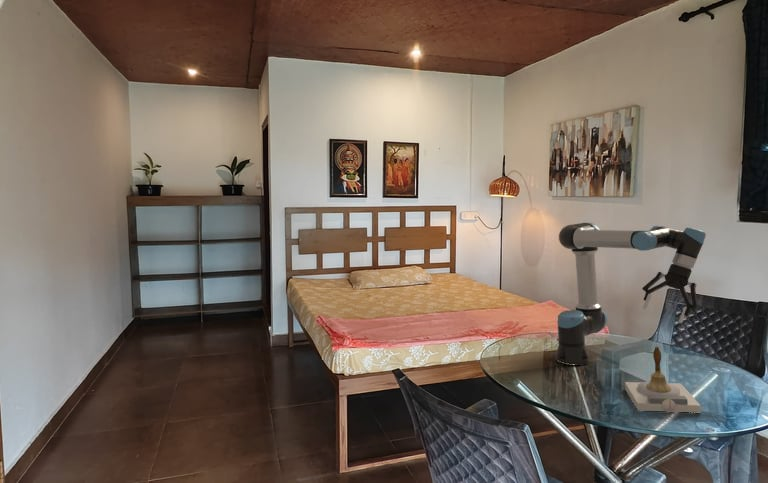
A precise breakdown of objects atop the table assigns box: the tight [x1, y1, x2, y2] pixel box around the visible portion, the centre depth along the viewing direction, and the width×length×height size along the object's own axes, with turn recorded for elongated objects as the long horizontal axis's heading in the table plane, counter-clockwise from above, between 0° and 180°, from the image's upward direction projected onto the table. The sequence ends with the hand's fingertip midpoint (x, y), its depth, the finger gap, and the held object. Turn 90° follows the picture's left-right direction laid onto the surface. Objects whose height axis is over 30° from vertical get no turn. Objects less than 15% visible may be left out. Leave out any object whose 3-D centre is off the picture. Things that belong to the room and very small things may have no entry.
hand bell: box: [646, 346, 671, 393], centre depth 181 cm, size 8×8×16 cm
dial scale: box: [624, 380, 702, 414], centre depth 180 cm, size 20×20×5 cm
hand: (661, 315), depth 193 cm, fingers open, 13 cm apart
